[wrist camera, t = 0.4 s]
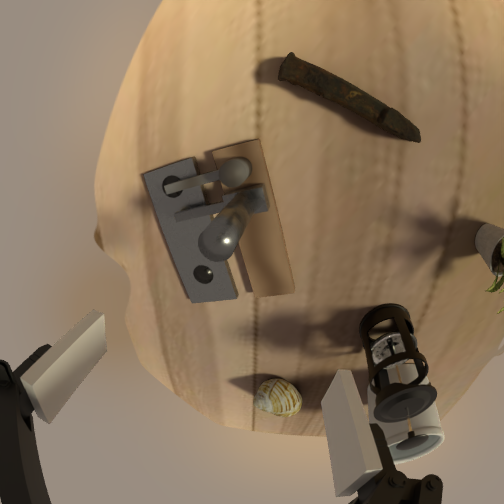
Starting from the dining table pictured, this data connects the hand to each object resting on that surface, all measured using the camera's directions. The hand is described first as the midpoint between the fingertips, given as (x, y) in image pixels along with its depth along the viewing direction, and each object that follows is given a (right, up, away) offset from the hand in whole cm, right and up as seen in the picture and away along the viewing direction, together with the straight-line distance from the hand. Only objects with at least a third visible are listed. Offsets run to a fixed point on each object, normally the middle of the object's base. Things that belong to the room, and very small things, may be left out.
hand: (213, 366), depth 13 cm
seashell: (+8, -23, +39) cm, 46 cm away
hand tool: (+15, +25, +15) cm, 33 cm away
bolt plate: (-7, +8, +27) cm, 29 cm away
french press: (+25, -7, +28) cm, 38 cm away
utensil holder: (+33, -22, +34) cm, 52 cm away
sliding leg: (-2, +12, +22) cm, 25 cm away
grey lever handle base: (-1, +9, +25) cm, 27 cm away
